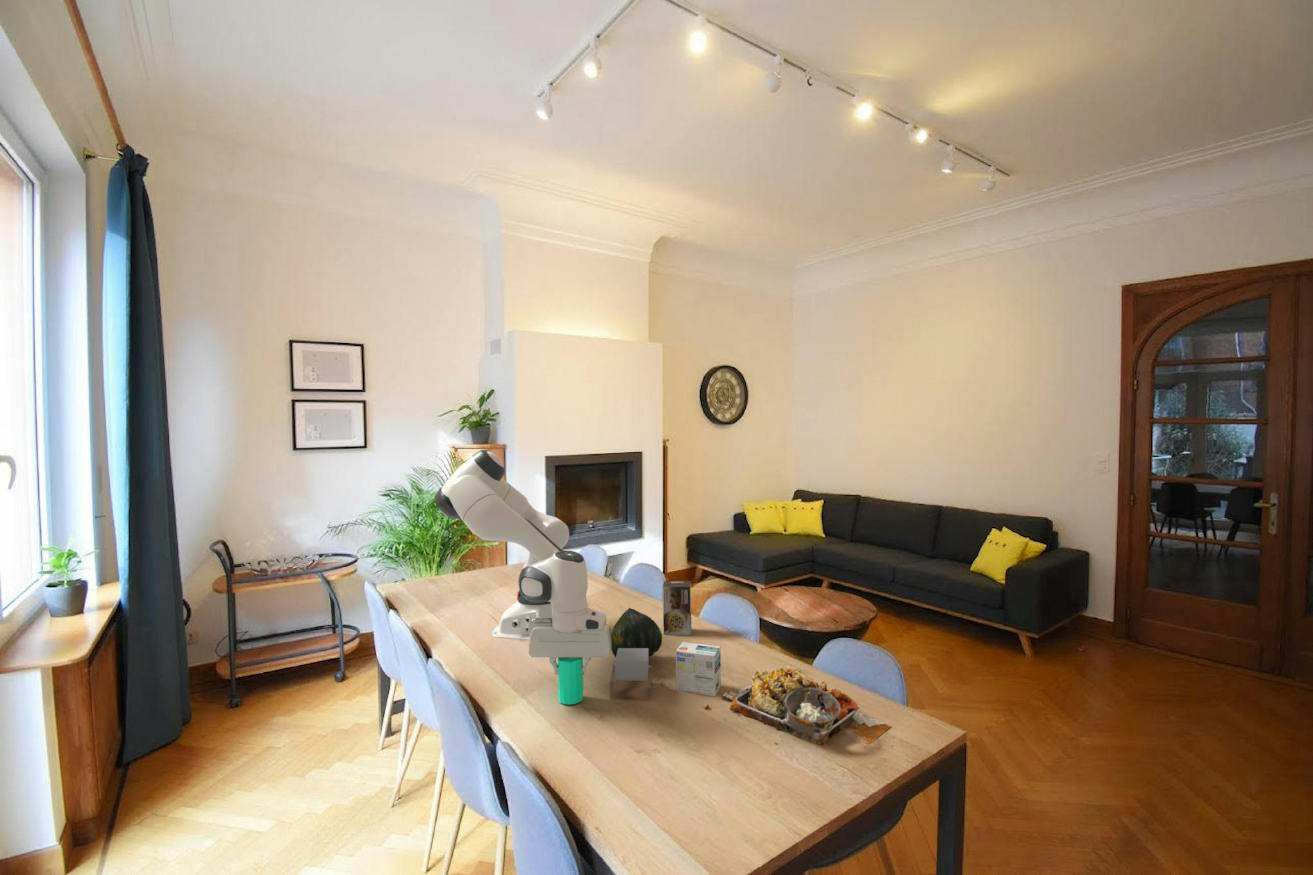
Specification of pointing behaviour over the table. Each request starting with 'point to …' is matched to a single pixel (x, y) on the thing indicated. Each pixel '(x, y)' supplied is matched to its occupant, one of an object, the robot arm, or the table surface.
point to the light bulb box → (698, 668)
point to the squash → (636, 632)
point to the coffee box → (677, 608)
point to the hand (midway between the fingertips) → (570, 673)
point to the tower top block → (632, 664)
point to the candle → (570, 680)
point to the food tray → (801, 706)
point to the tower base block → (631, 688)
